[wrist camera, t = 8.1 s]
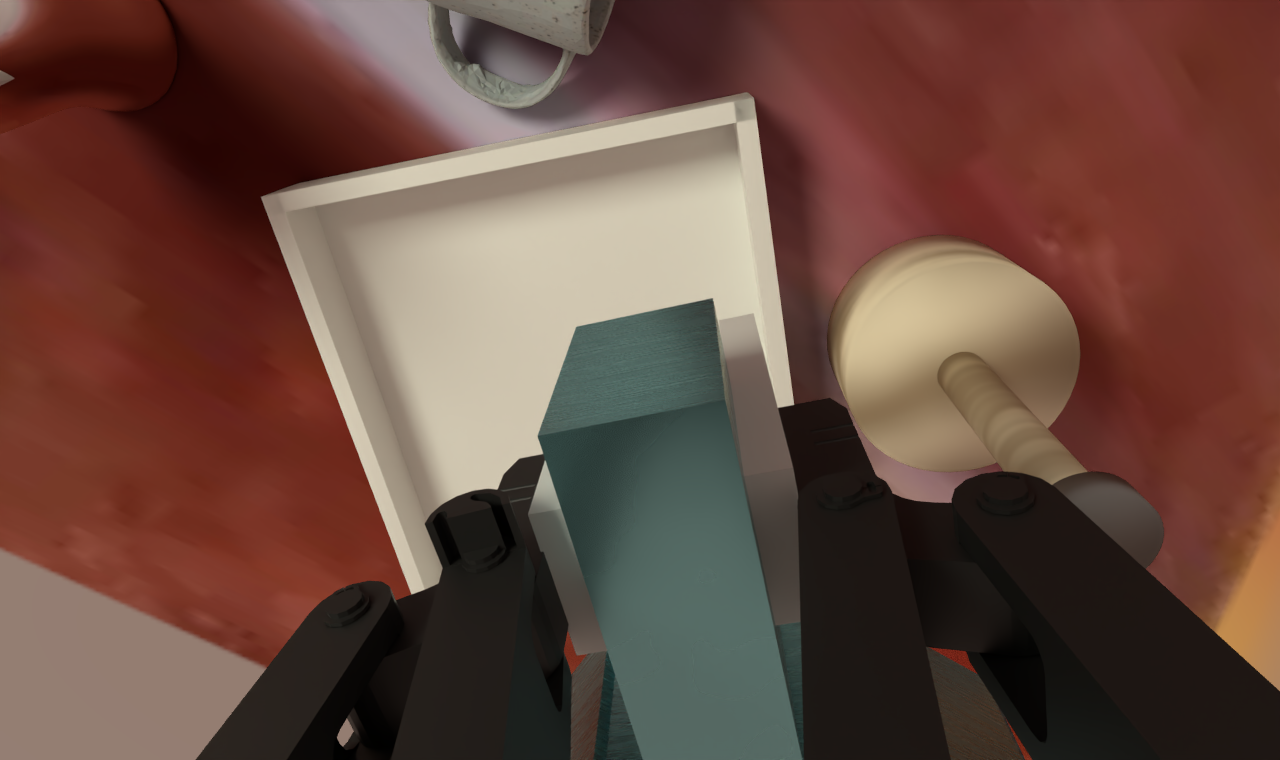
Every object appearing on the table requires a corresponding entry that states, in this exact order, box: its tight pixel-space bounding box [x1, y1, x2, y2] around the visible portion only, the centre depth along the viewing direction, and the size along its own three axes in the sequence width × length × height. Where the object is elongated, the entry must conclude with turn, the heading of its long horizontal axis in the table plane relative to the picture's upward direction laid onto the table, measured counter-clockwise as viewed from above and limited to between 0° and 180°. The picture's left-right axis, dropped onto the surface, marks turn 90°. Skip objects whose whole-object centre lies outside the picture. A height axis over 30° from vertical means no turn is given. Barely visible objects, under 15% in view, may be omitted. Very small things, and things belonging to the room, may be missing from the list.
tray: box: [261, 92, 794, 594], centre depth 38 cm, size 23×21×4 cm
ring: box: [538, 298, 1025, 760], centre depth 15 cm, size 17×10×4 cm, turn 13°
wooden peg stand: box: [827, 235, 1164, 569], centre depth 30 cm, size 10×10×17 cm
